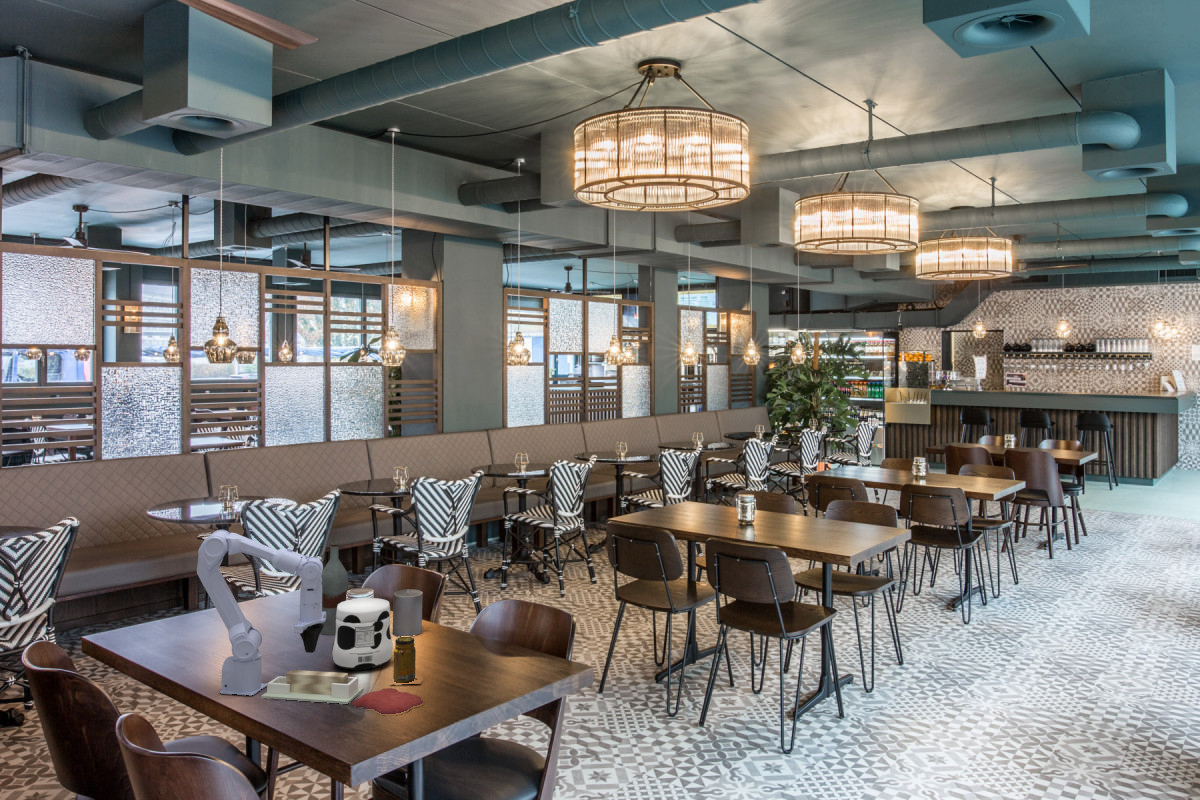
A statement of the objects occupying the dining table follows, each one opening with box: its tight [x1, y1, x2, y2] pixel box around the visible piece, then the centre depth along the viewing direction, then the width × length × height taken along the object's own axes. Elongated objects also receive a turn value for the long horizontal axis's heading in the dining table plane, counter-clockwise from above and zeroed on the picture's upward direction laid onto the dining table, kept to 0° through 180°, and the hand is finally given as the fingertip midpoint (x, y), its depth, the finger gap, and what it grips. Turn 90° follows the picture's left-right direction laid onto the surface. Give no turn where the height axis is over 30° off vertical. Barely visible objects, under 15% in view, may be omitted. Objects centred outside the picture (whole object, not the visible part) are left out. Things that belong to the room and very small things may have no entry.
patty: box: [351, 687, 424, 714], centre depth 209 cm, size 18×14×2 cm
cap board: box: [260, 686, 365, 705], centre depth 214 cm, size 24×10×1 cm, turn 83°
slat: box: [285, 669, 349, 695], centre depth 214 cm, size 16×3×5 cm, turn 83°
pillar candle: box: [392, 588, 424, 637], centre depth 270 cm, size 10×10×15 cm
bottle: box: [318, 542, 349, 636], centre depth 270 cm, size 9×9×30 cm
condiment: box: [392, 636, 417, 683], centre depth 225 cm, size 7×8×12 cm
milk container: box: [331, 597, 394, 671], centre depth 238 cm, size 17×17×18 cm
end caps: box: [266, 675, 359, 699], centre depth 214 cm, size 23×6×4 cm, turn 83°
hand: (310, 651), depth 220 cm, fingers closed
